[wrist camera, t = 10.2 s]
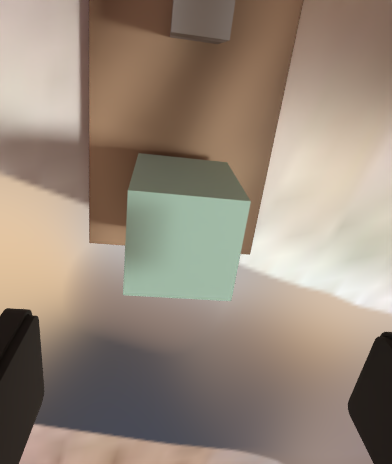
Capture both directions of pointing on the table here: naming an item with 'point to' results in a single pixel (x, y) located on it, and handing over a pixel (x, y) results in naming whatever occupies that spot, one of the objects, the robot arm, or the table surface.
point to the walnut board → (183, 93)
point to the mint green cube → (183, 228)
